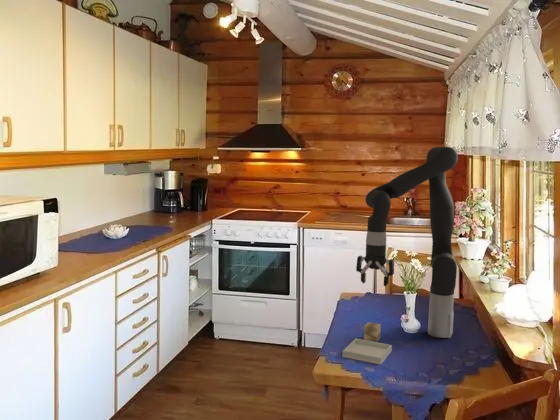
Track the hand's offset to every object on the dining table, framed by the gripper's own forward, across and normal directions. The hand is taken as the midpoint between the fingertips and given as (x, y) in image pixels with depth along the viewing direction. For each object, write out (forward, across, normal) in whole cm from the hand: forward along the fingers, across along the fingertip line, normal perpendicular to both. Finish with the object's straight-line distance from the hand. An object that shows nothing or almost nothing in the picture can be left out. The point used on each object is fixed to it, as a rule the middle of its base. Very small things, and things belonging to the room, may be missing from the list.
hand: (374, 284), depth 212 cm
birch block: (+22, 0, 0) cm, 22 cm away
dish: (+22, -3, +15) cm, 27 cm away
